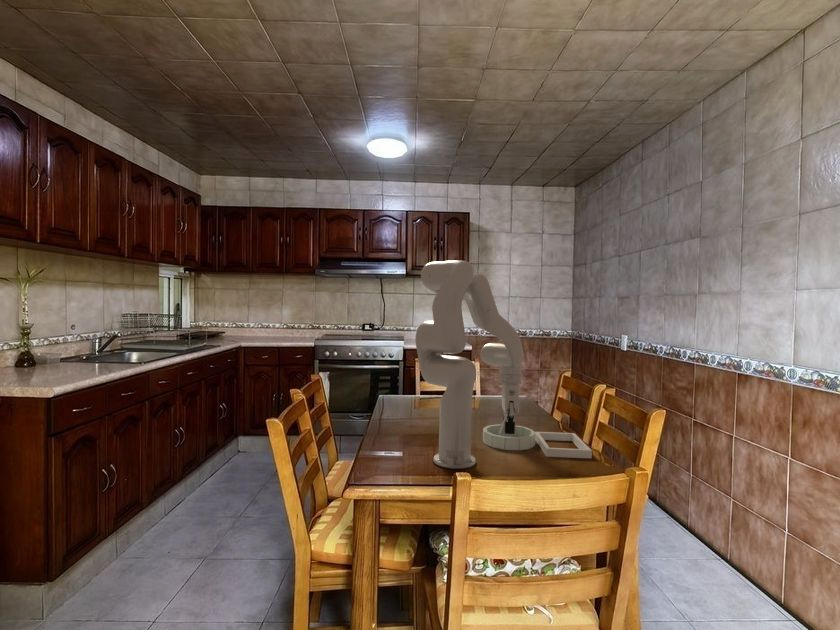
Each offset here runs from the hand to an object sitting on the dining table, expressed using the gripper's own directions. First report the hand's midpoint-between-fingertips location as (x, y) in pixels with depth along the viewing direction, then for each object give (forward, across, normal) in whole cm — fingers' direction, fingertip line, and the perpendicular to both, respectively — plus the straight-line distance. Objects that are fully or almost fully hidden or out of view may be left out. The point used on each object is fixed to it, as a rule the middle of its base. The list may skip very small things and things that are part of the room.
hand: (508, 430), depth 161 cm
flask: (+2, 0, 0) cm, 2 cm away
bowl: (+4, 0, 0) cm, 4 cm away
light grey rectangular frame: (+4, -4, -17) cm, 18 cm away
